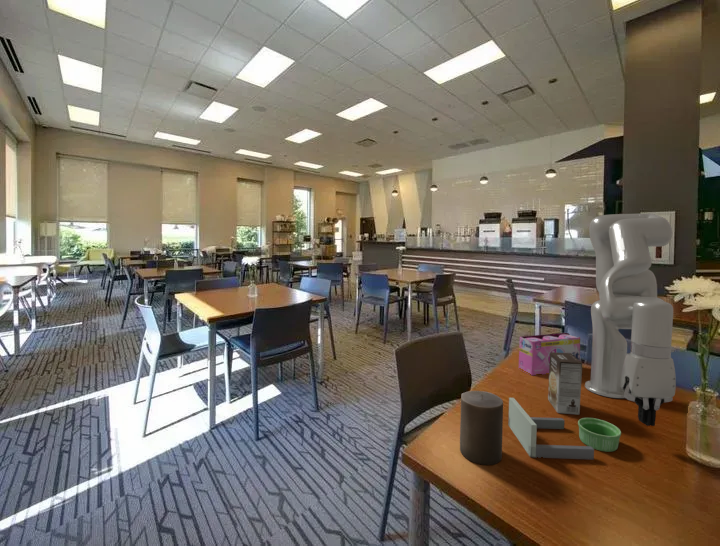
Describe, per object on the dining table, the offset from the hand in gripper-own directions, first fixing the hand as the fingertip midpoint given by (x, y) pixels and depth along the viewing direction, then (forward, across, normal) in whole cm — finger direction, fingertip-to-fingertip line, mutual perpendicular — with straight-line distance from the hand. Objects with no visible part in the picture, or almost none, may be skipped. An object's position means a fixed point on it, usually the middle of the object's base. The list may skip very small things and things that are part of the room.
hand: (646, 423), depth 84 cm
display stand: (+6, +23, -1) cm, 24 cm away
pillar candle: (+7, +42, +5) cm, 43 cm away
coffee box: (+6, +10, -20) cm, 23 cm away
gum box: (+5, -1, -52) cm, 52 cm away
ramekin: (+6, +11, -1) cm, 12 cm away
